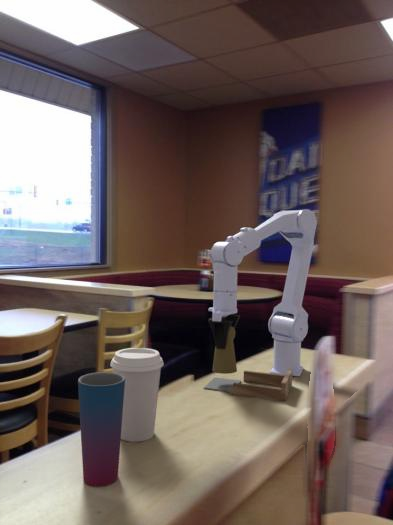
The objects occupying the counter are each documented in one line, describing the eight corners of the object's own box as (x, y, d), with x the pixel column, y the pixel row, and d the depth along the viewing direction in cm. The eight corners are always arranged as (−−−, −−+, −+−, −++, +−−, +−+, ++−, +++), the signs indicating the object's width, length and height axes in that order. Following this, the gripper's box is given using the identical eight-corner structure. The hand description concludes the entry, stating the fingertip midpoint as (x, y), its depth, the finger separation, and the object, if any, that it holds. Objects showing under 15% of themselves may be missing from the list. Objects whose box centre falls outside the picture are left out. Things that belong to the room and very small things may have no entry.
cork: (237, 367, 118) (238, 324, 117) (236, 374, 112) (236, 328, 111) (214, 366, 119) (214, 323, 118) (210, 373, 113) (210, 327, 112)
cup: (81, 467, 73) (81, 372, 72) (125, 466, 74) (126, 371, 73) (73, 490, 66) (74, 385, 66) (122, 489, 67) (123, 385, 66)
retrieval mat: (214, 378, 121) (214, 377, 121) (241, 381, 119) (241, 380, 119) (203, 388, 113) (203, 387, 113) (232, 392, 110) (232, 391, 110)
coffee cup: (171, 429, 88) (173, 350, 87) (145, 450, 79) (146, 362, 79) (128, 420, 92) (129, 344, 91) (98, 439, 83) (99, 355, 83)
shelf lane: (244, 380, 120) (244, 364, 120) (292, 385, 116) (292, 369, 116) (232, 394, 109) (233, 377, 109) (285, 401, 105) (285, 383, 105)
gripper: (217, 287, 123) (216, 338, 123) (200, 293, 109) (199, 351, 110) (244, 288, 120) (242, 341, 121) (229, 294, 107) (228, 354, 107)
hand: (223, 346), depth 115 cm, fingers closed on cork, 5 cm apart
